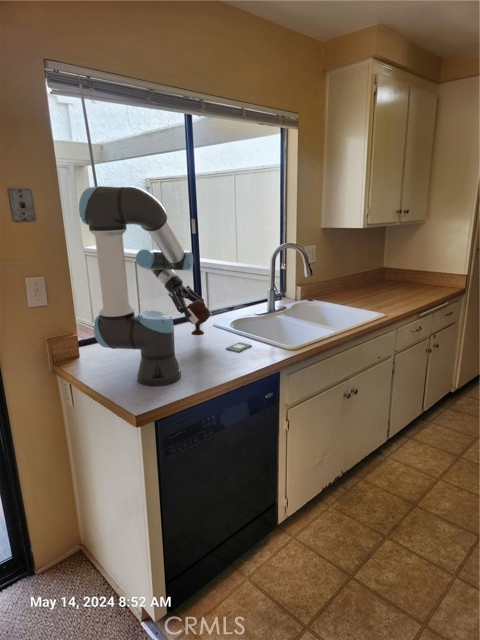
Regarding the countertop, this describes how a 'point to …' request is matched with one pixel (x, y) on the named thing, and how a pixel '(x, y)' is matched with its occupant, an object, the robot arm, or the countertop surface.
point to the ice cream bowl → (198, 315)
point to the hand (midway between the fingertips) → (203, 319)
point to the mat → (238, 347)
